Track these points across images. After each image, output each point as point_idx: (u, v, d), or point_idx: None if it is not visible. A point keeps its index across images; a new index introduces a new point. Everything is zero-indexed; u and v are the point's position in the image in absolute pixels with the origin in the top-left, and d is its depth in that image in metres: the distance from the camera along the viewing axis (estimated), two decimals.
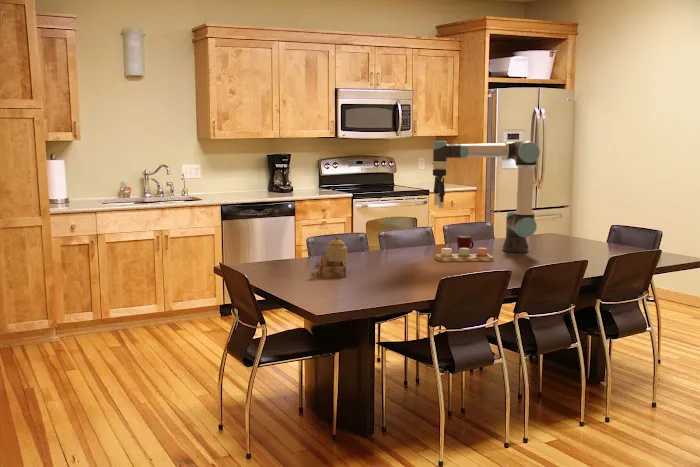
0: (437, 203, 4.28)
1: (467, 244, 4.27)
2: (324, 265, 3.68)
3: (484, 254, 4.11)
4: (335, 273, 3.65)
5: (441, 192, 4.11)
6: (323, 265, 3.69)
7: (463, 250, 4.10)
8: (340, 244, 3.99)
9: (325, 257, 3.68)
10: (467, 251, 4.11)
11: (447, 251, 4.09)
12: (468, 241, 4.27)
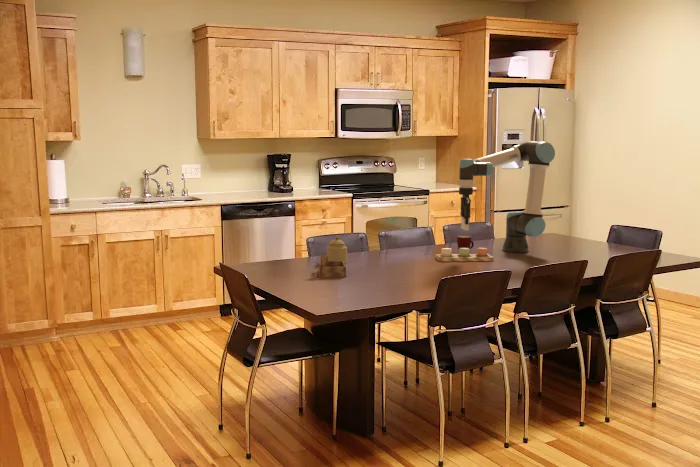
0: (464, 226, 4.14)
1: (467, 244, 4.27)
2: (323, 265, 3.69)
3: (484, 254, 4.11)
4: (335, 273, 3.65)
5: (466, 215, 4.04)
6: (322, 265, 3.69)
7: (463, 250, 4.10)
8: (340, 244, 3.99)
9: (324, 257, 3.68)
10: (467, 251, 4.11)
11: (447, 251, 4.09)
12: (468, 241, 4.27)
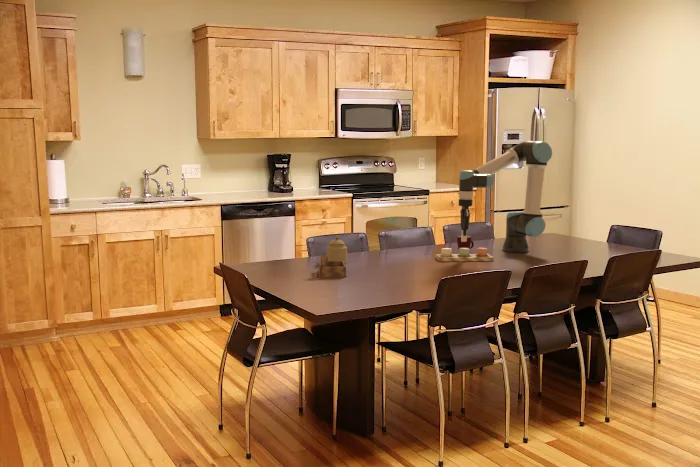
0: None
1: (467, 244, 4.27)
2: (323, 265, 3.69)
3: (484, 254, 4.11)
4: (335, 273, 3.65)
5: (465, 227, 4.07)
6: (322, 265, 3.70)
7: (463, 250, 4.10)
8: (340, 244, 3.99)
9: (324, 257, 3.69)
10: (467, 251, 4.11)
11: (447, 251, 4.09)
12: (468, 241, 4.27)
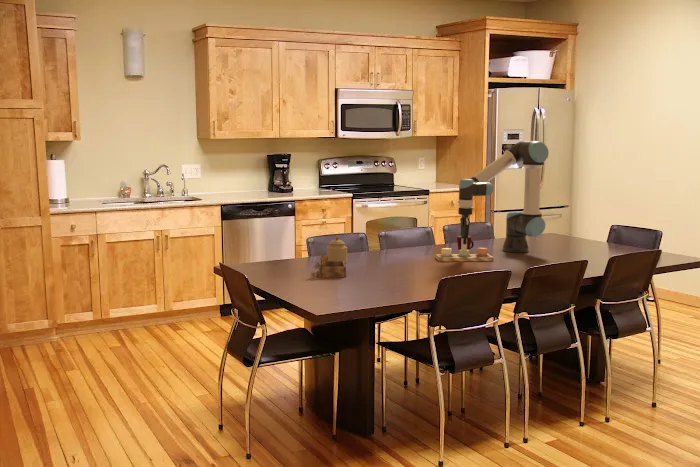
0: None
1: (467, 244, 4.27)
2: (323, 265, 3.69)
3: (484, 254, 4.11)
4: (335, 273, 3.65)
5: (465, 235, 4.08)
6: (322, 265, 3.70)
7: (463, 252, 4.10)
8: (340, 244, 3.99)
9: (324, 257, 3.69)
10: (467, 253, 4.11)
11: (447, 251, 4.09)
12: (468, 241, 4.27)
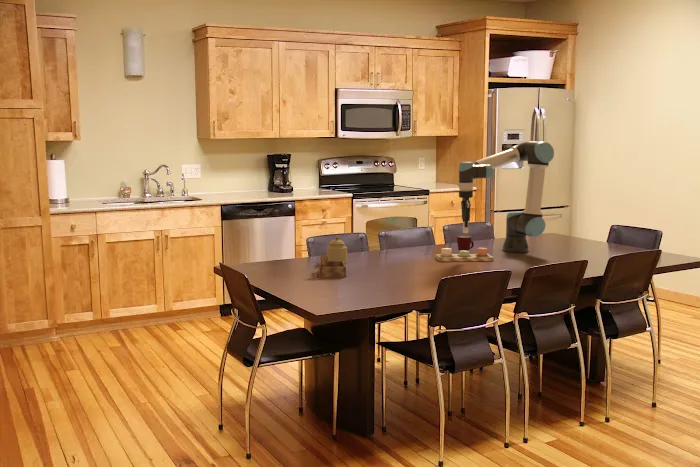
0: None
1: (467, 244, 4.27)
2: (323, 264, 3.70)
3: (484, 254, 4.11)
4: (335, 273, 3.65)
5: (466, 218, 4.06)
6: (322, 264, 3.70)
7: (463, 253, 4.10)
8: (340, 244, 3.99)
9: (324, 257, 3.69)
10: (467, 254, 4.11)
11: (447, 251, 4.09)
12: (468, 241, 4.27)
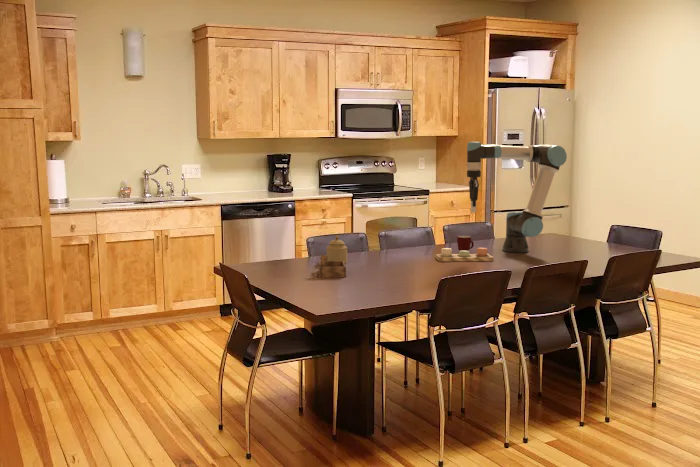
0: None
1: (467, 244, 4.27)
2: (323, 264, 3.70)
3: (484, 254, 4.11)
4: (335, 273, 3.65)
5: (474, 197, 4.11)
6: (322, 264, 3.70)
7: (463, 253, 4.10)
8: (340, 244, 3.99)
9: (324, 256, 3.69)
10: (467, 254, 4.11)
11: (447, 251, 4.09)
12: (468, 241, 4.27)
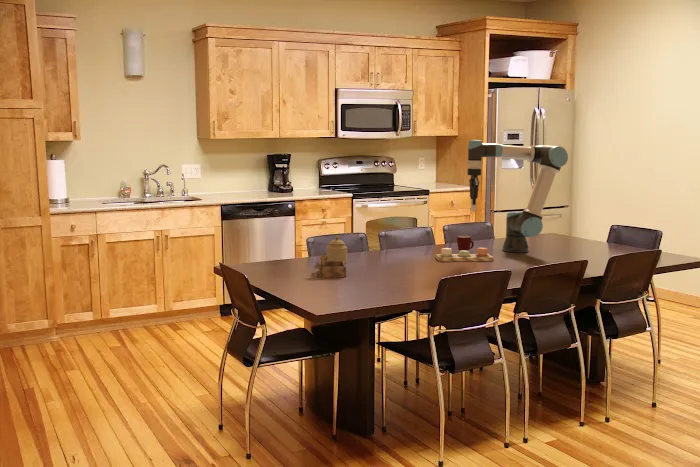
0: None
1: (467, 244, 4.27)
2: (323, 264, 3.70)
3: (484, 254, 4.11)
4: (335, 273, 3.65)
5: (474, 196, 4.12)
6: (322, 264, 3.71)
7: (463, 253, 4.10)
8: (340, 244, 3.99)
9: (324, 256, 3.69)
10: (467, 254, 4.11)
11: (447, 251, 4.09)
12: (468, 241, 4.27)
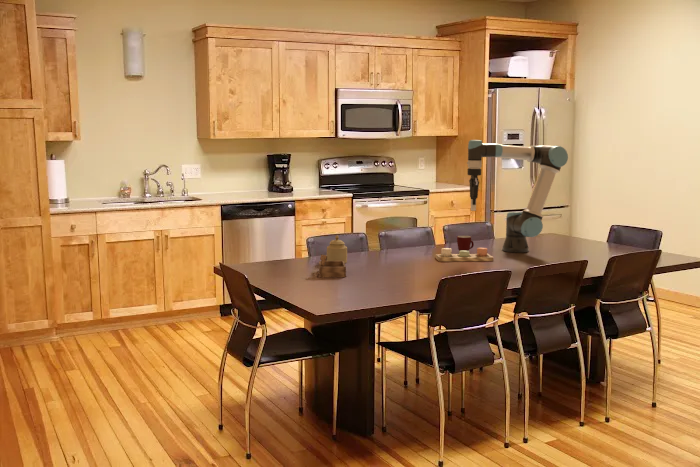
0: None
1: (467, 244, 4.27)
2: (323, 264, 3.70)
3: (484, 254, 4.11)
4: (335, 273, 3.65)
5: (474, 196, 4.12)
6: (322, 264, 3.71)
7: (463, 253, 4.10)
8: (340, 244, 3.99)
9: (324, 256, 3.70)
10: (467, 254, 4.11)
11: (447, 251, 4.09)
12: (468, 241, 4.27)
